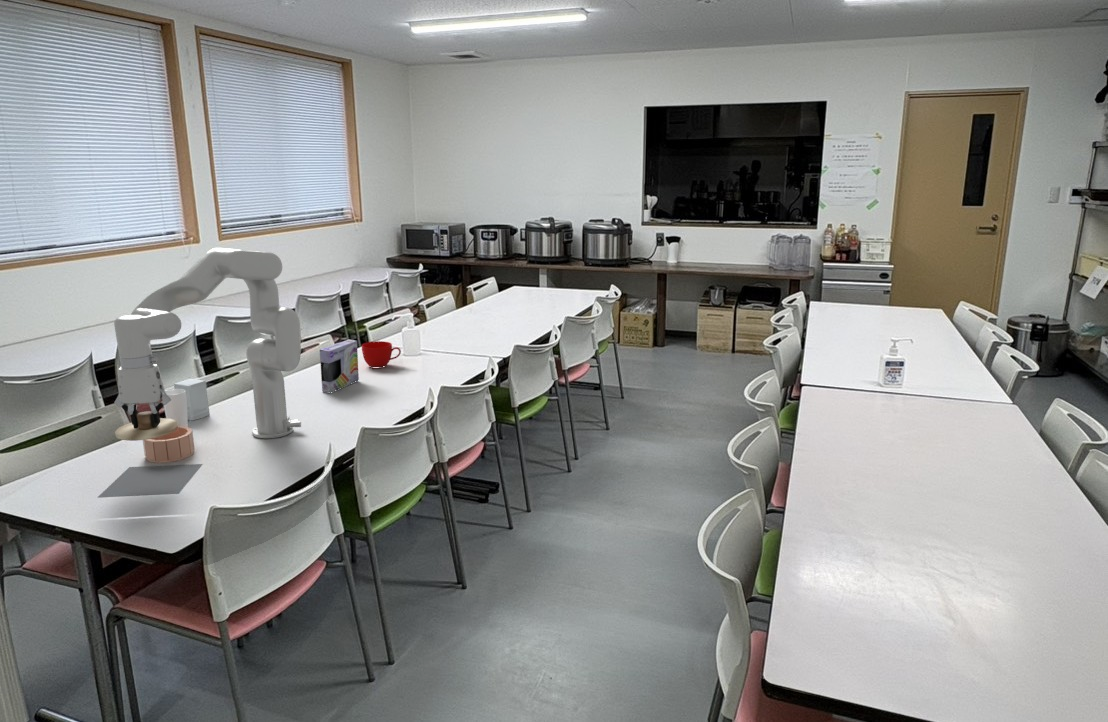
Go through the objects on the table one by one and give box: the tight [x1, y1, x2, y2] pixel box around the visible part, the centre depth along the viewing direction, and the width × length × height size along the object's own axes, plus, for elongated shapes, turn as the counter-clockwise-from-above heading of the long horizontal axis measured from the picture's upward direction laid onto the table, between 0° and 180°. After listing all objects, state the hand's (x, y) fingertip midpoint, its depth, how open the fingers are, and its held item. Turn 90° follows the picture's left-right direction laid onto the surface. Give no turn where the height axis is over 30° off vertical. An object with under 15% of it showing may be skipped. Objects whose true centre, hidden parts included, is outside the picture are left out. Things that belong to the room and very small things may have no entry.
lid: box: [114, 410, 178, 441], centre depth 195 cm, size 15×15×5 cm
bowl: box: [142, 426, 196, 464], centre depth 216 cm, size 13×13×7 cm
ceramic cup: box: [361, 340, 402, 368], centre depth 317 cm, size 13×17×10 cm
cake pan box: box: [319, 338, 360, 394], centre depth 285 cm, size 19×5×18 cm, turn 158°
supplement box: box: [173, 377, 210, 421], centre depth 250 cm, size 7×7×13 cm
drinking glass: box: [163, 388, 189, 427], centre depth 231 cm, size 7×7×15 cm
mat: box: [97, 463, 203, 498], centre depth 199 cm, size 20×20×1 cm
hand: (146, 425), depth 195 cm, fingers closed on lid, 4 cm apart
